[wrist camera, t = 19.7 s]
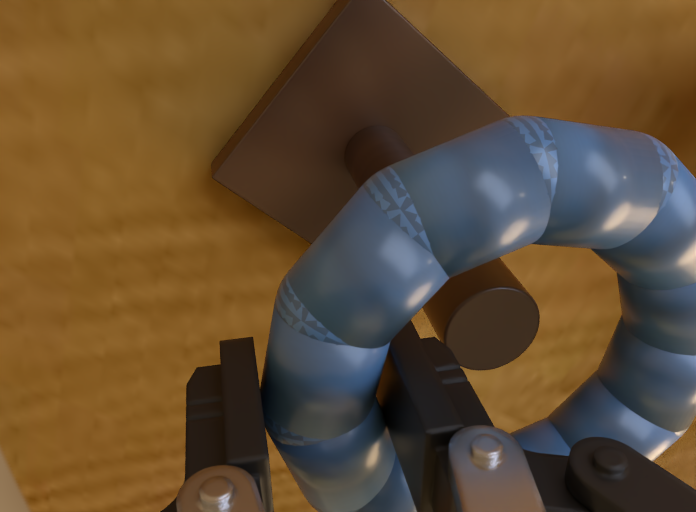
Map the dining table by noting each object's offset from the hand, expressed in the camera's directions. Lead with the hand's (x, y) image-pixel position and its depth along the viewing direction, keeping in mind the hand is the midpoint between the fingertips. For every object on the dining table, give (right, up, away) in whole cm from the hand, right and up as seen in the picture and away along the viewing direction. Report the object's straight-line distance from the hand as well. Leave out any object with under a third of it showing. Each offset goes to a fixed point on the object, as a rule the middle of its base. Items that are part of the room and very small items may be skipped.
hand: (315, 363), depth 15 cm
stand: (+1, +7, +13) cm, 14 cm away
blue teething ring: (+4, 0, 0) cm, 4 cm away
